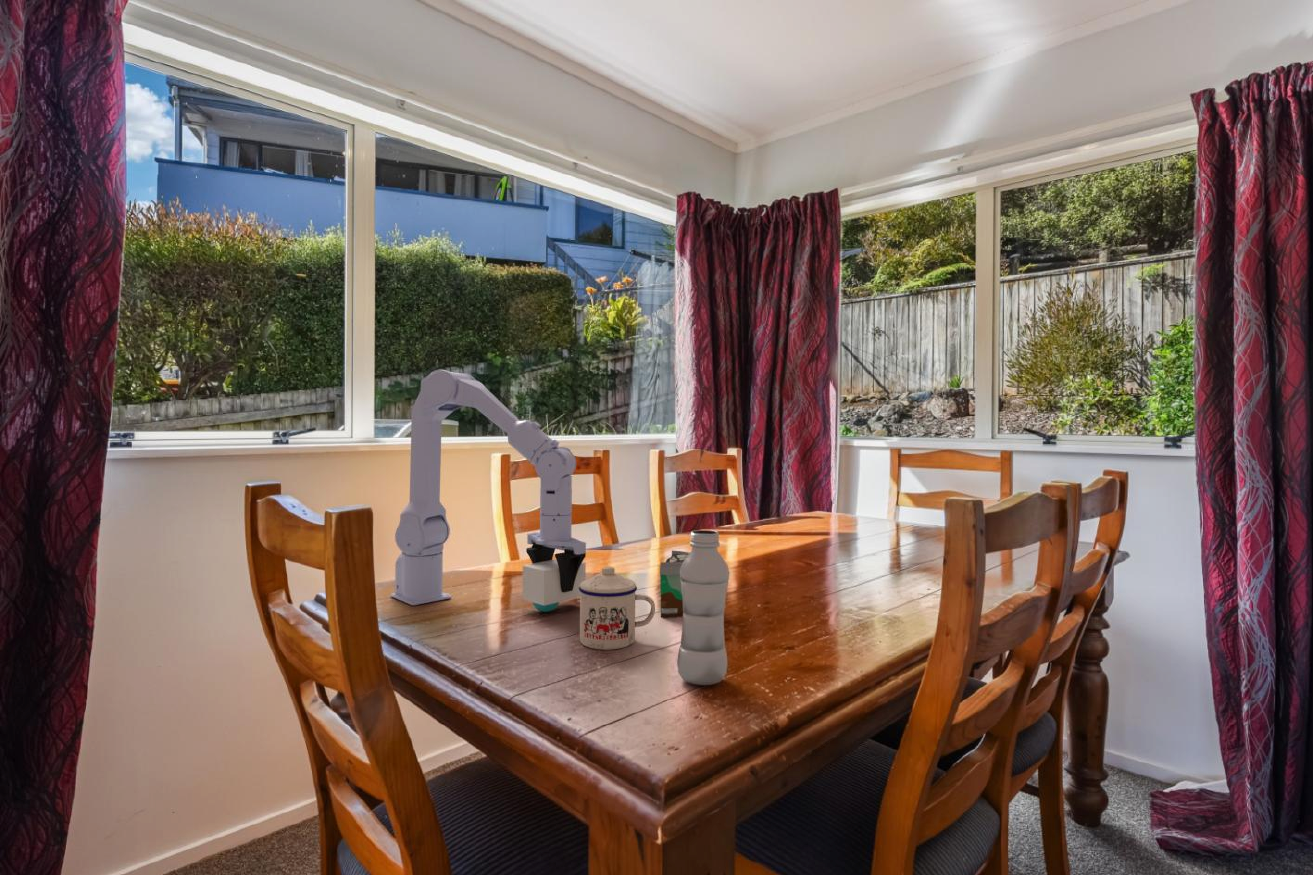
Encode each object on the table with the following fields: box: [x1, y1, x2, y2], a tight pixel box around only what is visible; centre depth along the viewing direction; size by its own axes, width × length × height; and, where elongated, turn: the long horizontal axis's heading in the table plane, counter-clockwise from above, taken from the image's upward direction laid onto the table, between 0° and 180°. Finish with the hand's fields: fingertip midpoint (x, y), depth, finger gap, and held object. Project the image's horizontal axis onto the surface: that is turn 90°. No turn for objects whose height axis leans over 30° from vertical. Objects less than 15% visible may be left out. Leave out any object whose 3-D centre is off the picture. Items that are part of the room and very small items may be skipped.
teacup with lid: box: [579, 566, 656, 651], centre depth 104 cm, size 12×9×12 cm
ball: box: [532, 602, 560, 613], centre depth 120 cm, size 5×5×5 cm
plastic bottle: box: [676, 529, 730, 686], centre depth 88 cm, size 6×7×20 cm
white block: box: [522, 558, 587, 606], centre depth 122 cm, size 6×10×6 cm, turn 137°
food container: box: [659, 550, 690, 619], centre depth 122 cm, size 12×6×10 cm, turn 168°
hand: (555, 587), depth 122 cm, fingers closed on white block, 6 cm apart
